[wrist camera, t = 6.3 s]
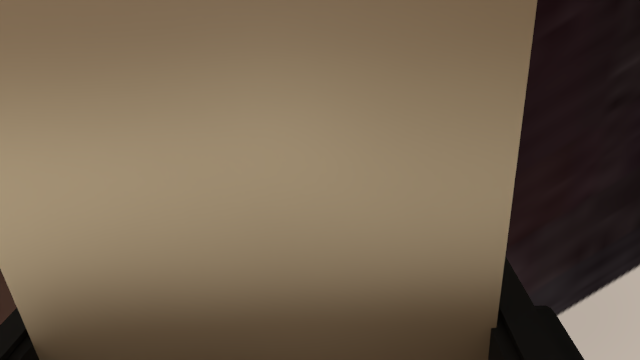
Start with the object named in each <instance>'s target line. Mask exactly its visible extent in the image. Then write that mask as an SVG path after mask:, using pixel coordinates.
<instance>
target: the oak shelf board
mask: <svg viewBox="0 0 640 360" xmlns="http://www.w3.org/2000/svg"><path fill="white" fill-rule="evenodd" d="M536 7H537V0H0V269H1V271H2V273H3V276H4V278H5V280H6V283H7V285H8V287H9V290H10V292H11V294H12V297H13V299H14V301H15V304H16V306H17V308H18V311H19V313H20V315H21V318H22V320H23V322H24V325H25V327H26V329H27V332H28V334H29V336H30V339H31V341H32V343H33V346H34V348H35V350H36V353H37V355H38V357H39V360H488V355H489V345H490V334H491V328H496V326H497V318H498V310H499V302H500V294H501V286H502V278H503V270H504V262H505V254H506V246H507V238H508V230H509V222H510V214H511V206H512V198H513V190H514V182H515V174H516V166H517V158H518V150H519V142H520V134H521V126H522V118H523V110H524V102H525V94H526V86H527V78H528V70H529V62H530V54H531V46H532V38H533V30H534V23H535V15H536Z"/></svg>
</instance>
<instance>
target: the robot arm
mask: <svg viewBox="0 0 640 360" xmlns="http://www.w3.org/2000/svg"><path fill="white" fill-rule="evenodd" d="M0 360H39V357H38V355H37V353H36V350H35V348H34V346H33V343H32V341H31V339H30V336H29V334H28V332H27V329H26V327H25V325H24V322H23V320H22V318H21V315H20V313H19V311H18V308H16V309H15V310H14V311H13V313H12V314H11V315H10V316H9V317H8V318H7V319H6V320H5V321H4V322H3V323H2V324H1V325H0ZM488 360H584V359H583V357H582V355H581V354H580V352H579V351H578V349H577V348H576V346H575V344H574V343H573V341H572V340H571V338H570V336H569V335H568V333H567V332H566V330H565V328H564V327H563V325H562V324H561V322H560V320H559V319H558V317H557V316H556V314H555V313H554V312H553V310H552V309H551V308H549V307H548V306H534V305H533V303H532V301H531V299H530V298H529V296H528V294H527V293H526V291H525V289H524V287H523V286H522V284H521V282H520V281H519V279H518V277H517V275H516V274H515V272H514V270H513V268H512V267H511V265H510V263H509V262H508V260H507V258H506V256H505V262H504V270H503V278H502V286H501V294H500V302H499V310H498V318H497V326H496V328H491V334H490V345H489V355H488Z"/></svg>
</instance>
